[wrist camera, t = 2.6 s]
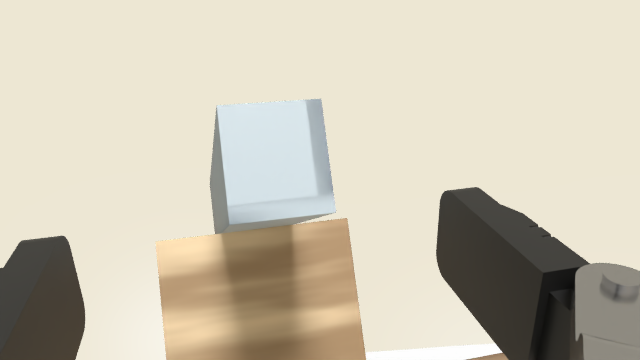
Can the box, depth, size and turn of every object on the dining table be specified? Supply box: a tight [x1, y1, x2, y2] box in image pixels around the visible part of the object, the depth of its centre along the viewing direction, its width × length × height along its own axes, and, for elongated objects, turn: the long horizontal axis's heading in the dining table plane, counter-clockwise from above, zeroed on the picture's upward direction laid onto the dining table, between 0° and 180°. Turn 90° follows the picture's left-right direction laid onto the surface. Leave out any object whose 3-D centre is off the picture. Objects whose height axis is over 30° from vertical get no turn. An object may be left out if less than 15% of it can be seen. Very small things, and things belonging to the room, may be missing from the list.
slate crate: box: [210, 99, 336, 234], centre depth 34 cm, size 26×4×5 cm, turn 13°
